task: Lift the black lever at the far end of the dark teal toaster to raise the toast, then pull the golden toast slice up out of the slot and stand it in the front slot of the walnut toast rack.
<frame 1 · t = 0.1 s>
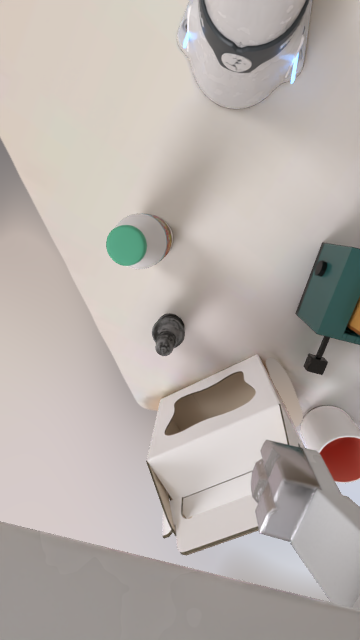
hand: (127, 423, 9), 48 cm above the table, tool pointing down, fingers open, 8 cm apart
toast: (347, 291, 51), point 4 cm above the table, touching carriage
cup: (323, 423, 63), on the table
toaster: (335, 286, 55), on the table
gable box: (222, 402, 63), on the table
carriage: (334, 319, 52), point 4 cm above the table, slide at 0.0 cm, touching toast
milk bottle: (151, 238, 55), on the table
chess piece: (170, 326, 59), on the table
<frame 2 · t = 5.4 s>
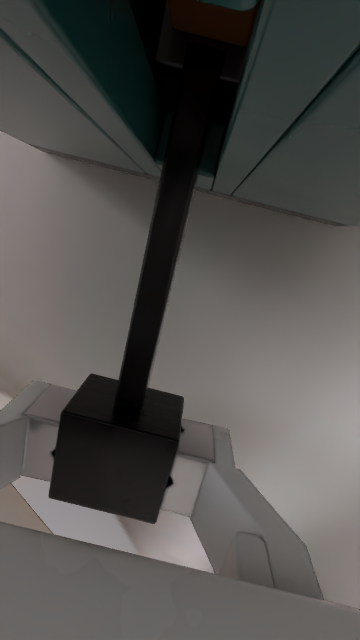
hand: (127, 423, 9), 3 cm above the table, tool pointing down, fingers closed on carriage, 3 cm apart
carriage: (202, 74, 6), point 4 cm above the table, slide at -0.1 cm, touching gripper, toast
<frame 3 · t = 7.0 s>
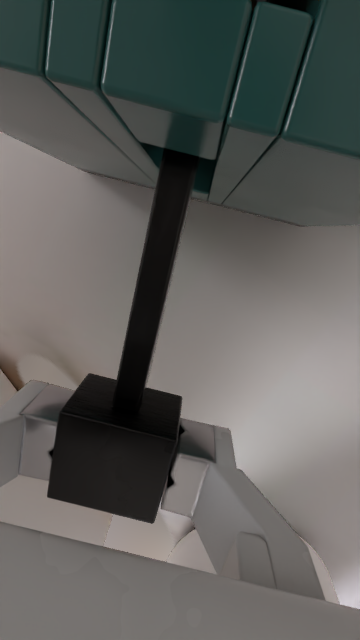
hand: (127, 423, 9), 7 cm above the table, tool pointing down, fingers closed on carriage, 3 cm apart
cup: (241, 563, 20), on the table
toaster: (233, 22, 12), on the table
carriage: (200, 74, 6), point 8 cm above the table, slide at 3.6 cm, touching gripper, toast
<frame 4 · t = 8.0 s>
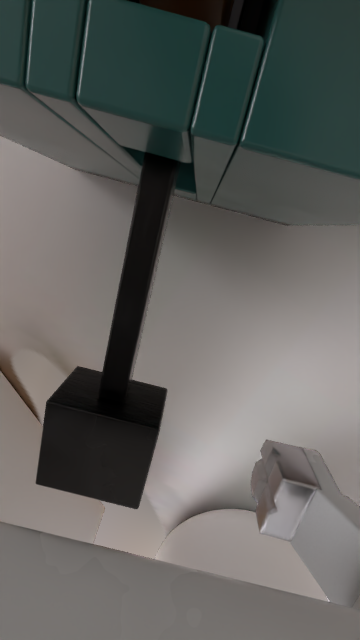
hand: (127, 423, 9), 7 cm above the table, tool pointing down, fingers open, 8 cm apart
cup: (230, 554, 21), on the table
toaster: (222, 25, 12), on the table
carriage: (179, 80, 6), point 8 cm above the table, slide at 3.6 cm, touching toast
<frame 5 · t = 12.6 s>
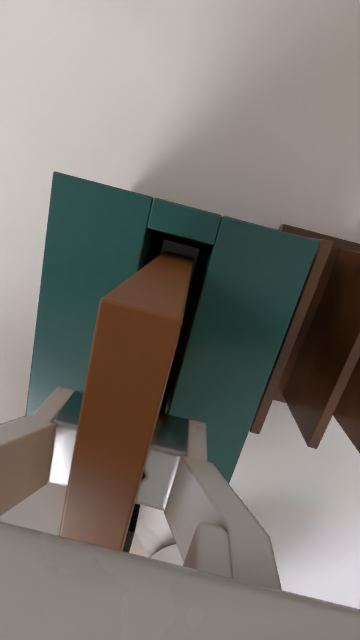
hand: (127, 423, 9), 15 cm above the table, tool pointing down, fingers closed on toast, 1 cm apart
toast rack: (309, 325, 24), on the table
toast: (158, 340, 16), point 8 cm above the table, touching carriage, gripper
cup: (190, 570, 32), on the table
toaster: (171, 302, 24), on the table
carriage: (139, 417, 18), point 8 cm above the table, slide at 3.6 cm, touching toast
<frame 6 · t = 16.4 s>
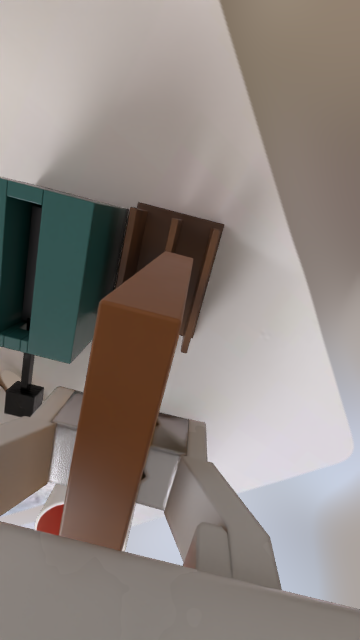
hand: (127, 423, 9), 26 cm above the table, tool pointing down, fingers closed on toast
toast rack: (167, 273, 34), on the table
toast: (158, 341, 16), point 19 cm above the table, touching gripper
cup: (107, 466, 43), on the table
toaster: (73, 258, 34), on the table
carriage: (32, 320, 28), point 8 cm above the table, slide at 3.6 cm
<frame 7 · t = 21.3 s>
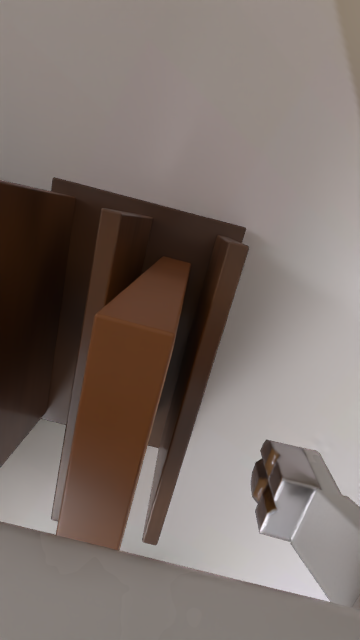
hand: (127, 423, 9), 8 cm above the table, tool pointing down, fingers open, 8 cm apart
toast rack: (126, 327, 17), on the table
toast: (155, 345, 16), point 1 cm above the table, touching toast rack
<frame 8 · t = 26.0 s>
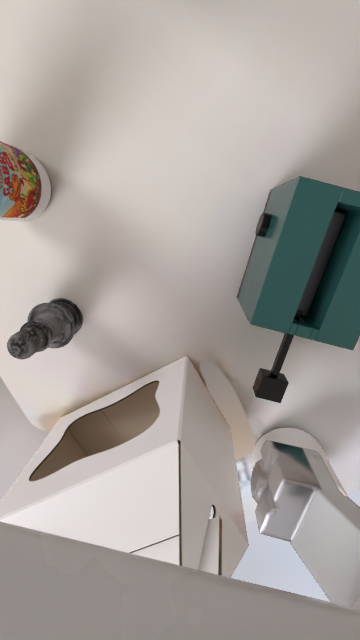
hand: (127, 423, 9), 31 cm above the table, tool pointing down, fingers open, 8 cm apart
cup: (283, 451, 46), on the table
toaster: (292, 257, 38), on the table
gable box: (144, 422, 46), on the table
carriage: (297, 312, 32), point 8 cm above the table, slide at 3.6 cm
milk bottle: (22, 187, 37), on the table
chess piece: (63, 317, 42), on the table
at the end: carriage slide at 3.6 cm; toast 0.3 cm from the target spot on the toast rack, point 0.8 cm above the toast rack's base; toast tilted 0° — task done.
